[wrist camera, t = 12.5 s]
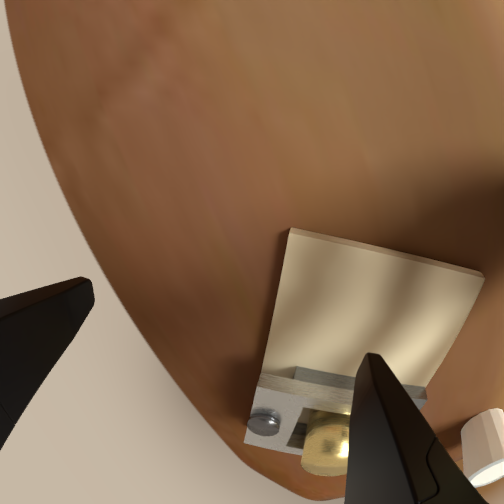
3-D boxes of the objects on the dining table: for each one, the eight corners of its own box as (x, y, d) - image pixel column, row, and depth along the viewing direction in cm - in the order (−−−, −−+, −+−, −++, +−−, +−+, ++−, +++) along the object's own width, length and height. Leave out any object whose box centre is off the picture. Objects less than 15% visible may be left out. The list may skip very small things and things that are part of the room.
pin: (366, 397, 23) (367, 455, 18) (349, 424, 25) (346, 478, 20) (317, 388, 24) (309, 448, 19) (304, 417, 26) (295, 471, 21)
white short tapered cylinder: (519, 404, 21) (535, 452, 15) (485, 440, 25) (495, 485, 18) (478, 403, 23) (492, 458, 16) (444, 440, 26) (451, 491, 19)
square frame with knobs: (425, 386, 22) (431, 419, 18) (384, 440, 26) (384, 469, 22) (264, 358, 24) (254, 392, 21) (250, 418, 28) (241, 447, 24)
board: (480, 271, 18) (485, 278, 17) (374, 445, 28) (374, 452, 27) (291, 227, 20) (289, 232, 19) (249, 424, 30) (247, 431, 29)
